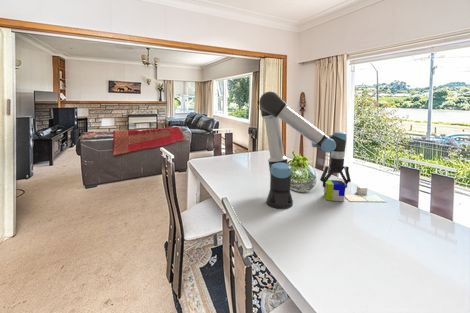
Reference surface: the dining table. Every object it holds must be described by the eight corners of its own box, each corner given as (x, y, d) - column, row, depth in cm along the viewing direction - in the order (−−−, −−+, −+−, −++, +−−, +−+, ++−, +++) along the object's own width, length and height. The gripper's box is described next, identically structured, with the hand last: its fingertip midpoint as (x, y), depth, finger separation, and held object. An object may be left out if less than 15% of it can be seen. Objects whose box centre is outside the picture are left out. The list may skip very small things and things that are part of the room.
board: (349, 201, 152) (349, 201, 152) (342, 195, 163) (342, 194, 163) (386, 202, 152) (386, 201, 152) (376, 195, 163) (376, 195, 163)
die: (359, 194, 164) (360, 188, 164) (356, 192, 169) (357, 185, 168) (366, 194, 164) (367, 188, 163) (363, 192, 169) (364, 185, 168)
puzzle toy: (343, 201, 152) (345, 185, 150) (326, 200, 154) (327, 184, 152) (340, 195, 162) (341, 180, 160) (323, 194, 163) (325, 179, 161)
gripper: (320, 158, 149) (317, 194, 153) (359, 159, 149) (355, 195, 153) (316, 156, 156) (313, 190, 161) (354, 156, 156) (350, 190, 161)
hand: (334, 192), depth 157 cm, fingers closed on puzzle toy, 11 cm apart
